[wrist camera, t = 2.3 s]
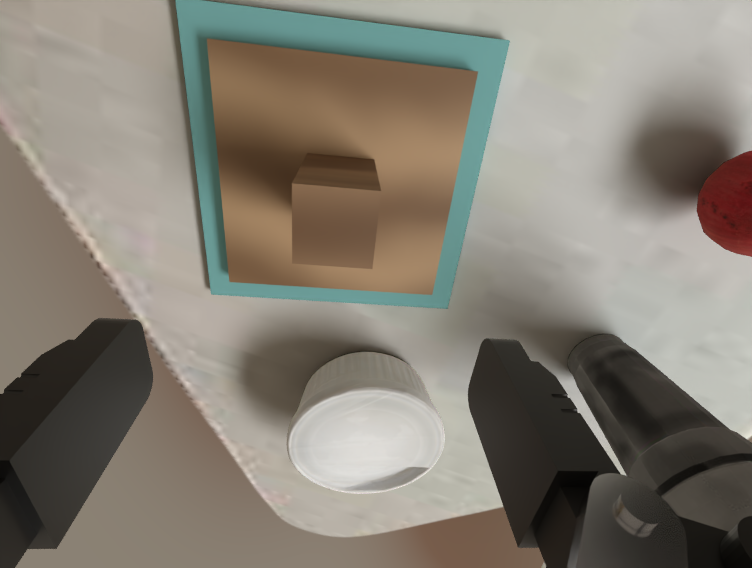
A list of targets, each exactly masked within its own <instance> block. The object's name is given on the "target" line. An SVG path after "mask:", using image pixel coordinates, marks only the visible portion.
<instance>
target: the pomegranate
mask: <svg viewBox="0 0 752 568" xmlns="http://www.w3.org/2000/svg"><path fill="white" fill-rule="evenodd" d="M697 213H698V217H699V220H700V223H701V226H702V229H703V232H704V233H705V234H706V235H707V236H708V237H710V238H711V239H712V240H713V241H714V242H716V243H717V244H719V245H720V246H721V247H723V248H724V249H726V250H729V251H731V252H734V253H737V254H741V255H746V256H751V257H752V151H748V152H745V153H742V154H740V155H738V156H736V157H734V158H732V159H730V160H728V161H726V162H724V163H723V164H722V165H721V166H720V167H719V168H718V169H717V170H716V171H714V172H713V173H712V174H711V175H710V176H709V177H708V178H707V179H706V181H705V183H704V185H703V187H702V189H701V191H700V192H699V195H698V203H697Z"/></svg>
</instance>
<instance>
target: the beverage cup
mask: <svg viewBox="0 0 752 568" xmlns="http://www.w3.org/2000/svg"><path fill="white" fill-rule="evenodd" d="M568 367H569V370H570V372H571V373H572V375H573V377H574V379H575V381H576V384H577V387H578V388H579V390H580V392H581V394H582V396H583V397H584V399H585V401H586V403H587V405H588V406H589V408H590V410H591V412H592V414H593V415H594V417H595V419H596V421H597V422H598V424H599V426H600V428H601V430H602V431H603V433H604V435H605V437H606V439H607V440H608V442H609V444H610V446H611V448H612V449H613V451H614V453H615V455H616V457H617V458H618V460H619V462H620V464H621V466H622V467H623V469H624V471H625V473H626V475H627V476H628V477H631V478H633V479H635V480H637V481H639V482H641V483H643V484H645V485H646V486H648V487H649V488H651V489H652V490H654V491H655V492H656V493H657V494H658V495H660V496H661V497H662V498H663V499H664V500H665V501H666V502H667V503H668V504H669V505H670V507H671V508H672V509H673V510H674V511H675V513H676V514H677V516H680V517H683V518H687V519H690V520H693V521H696V522H699V523H703V524H706V525H709V526H712V527H715V528H719V529H722V530H725V531H728V532H730V531H731V530H732V529H733V528H734V527H735V525H736V524H737V523H738V522H739V521H740V520H742V519H743V518H745V517H748V516H752V443H751V442H750V441H748V440H747V439H745V438H744V437H742V436H741V435H740V434H738V433H737V432H734V431H732V430H730V429H729V428H727V427H726V426H725V425H724V424H723V423H721V422H720V421H719V420H718V419H717V418H715V417H714V416H713V415H712V414H711V413H710V412H708V411H707V410H706V409H705V408H704V407H702V406H701V405H700V404H699V403H698V402H696V401H695V400H694V399H693V398H692V397H690V396H689V395H688V394H687V393H686V392H685V391H683V390H682V389H681V388H680V387H679V386H677V385H676V384H675V383H674V382H673V381H671V380H670V379H669V378H668V377H667V376H665V375H664V374H663V373H662V372H661V371H660V370H658V369H657V368H656V367H655V366H654V365H652V364H651V363H650V362H649V361H648V360H646V359H645V358H644V357H643V356H642V355H641V354H639V353H638V352H637V351H636V350H635V349H633V348H631V347H630V346H628V345H627V344H626V343H624V342H623V341H622V340H621V339H620V338H618V337H616V336H614V335H608V334H602V335H596V336H593V337H590V338H588V339H585V340H584V341H582V342H581V343H580V344H578V345H577V346H576V347H575V348H574V349H573V350H572V352H571V354H570V356H569V358H568Z"/></svg>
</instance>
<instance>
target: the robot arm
mask: <svg viewBox="0 0 752 568" xmlns="http://www.w3.org/2000/svg"><path fill="white" fill-rule="evenodd" d="M152 382H153V372H152V367H151V362H150V358H149V354H148V349H147V345H146V340H145V336H144V331H143V327H142V325H141V323H140V322H139V321H138V320H130V319H110V318H98V319H96V320H94V321H93V322H92V323H91V324H90V325H89V326H88V327H87V328H86V329H85V330H84V331H83V332H82V333H81V334H80V335H79V336H78V337H77V338H76V339H75V340H67V341H65V342H63V343H62V344H60V345H58V346H56V347H55V348H53V349H51V350H49V351H47V352H46V353H44V354H42V355H41V356H40V357H39V358H37V359H36V361H34V362H33V363H32V364H31V365H30V366H29V367H28V368H27V369H26V370H25V371H24V372H23V373H22V374H21V377H20V378H19V377H18V378H16V379H15V380H14V381H13V382H12V383H11V384H10V385H9V386H7V387H6V388H5V389H4V393H3V394H0V568H15V567H16V565H17V564H18V562H19V561H20V559H21V558H22V556H23V555H24V553H25V552H26V550H27V549H57V547H58V545H59V544H60V542H61V541H62V539H63V537H64V536H65V534H66V532H67V531H68V529H69V527H70V526H71V524H72V522H73V521H74V519H75V518H76V516H77V514H78V512H79V511H80V509H81V508H82V506H83V504H84V503H85V501H86V499H87V498H88V496H89V495H90V493H91V491H92V490H93V488H94V486H95V485H96V483H97V481H98V480H99V478H100V476H101V475H102V473H103V472H104V470H105V468H106V467H107V465H108V463H109V462H110V460H111V458H112V457H113V455H114V453H115V452H116V450H117V449H118V447H119V445H120V443H121V442H122V440H123V439H124V437H125V435H126V434H127V432H128V430H129V429H130V427H131V425H132V424H133V422H134V420H135V419H136V417H137V416H138V414H139V412H140V411H141V409H142V407H143V406H144V404H145V402H146V401H147V399H148V397H149V395H150V391H151V388H152ZM567 395H568V394H567V393H566V391H565V390H564V388H563V387H562V385H561V384H560V382H559V381H558V379H557V378H556V377H555V376H554V375H553V374H552V373H551V372H549V371H548V370H547V369H546V368H545V367H544V366H542V365H541V364H540V363H539V362H534V361H531V360H530V359H529V357H528V356H527V354H526V352H525V351H524V349H523V347H522V346H521V344H520V343H519V342H518V341H517V340H507V339H487V338H486V339H484V340H483V342H482V344H481V346H480V350H479V353H478V356H477V360H476V363H475V367H474V370H473V373H472V377H471V380H470V384H469V389H468V402H469V408H470V412H471V415H472V417H473V420H474V423H475V426H476V429H477V432H478V435H479V437H480V440H481V443H482V446H483V449H484V452H485V454H486V457H487V460H488V463H489V466H490V469H491V472H492V474H493V477H494V480H495V483H496V486H497V489H498V492H499V494H500V497H501V500H502V503H503V506H504V509H505V511H506V514H507V517H508V520H509V523H510V526H511V529H512V531H513V534H514V537H515V540H516V543H517V546H518V547H519V548H535V547H536V548H537V547H539V549H540V551H541V554H542V557H543V559H544V564H543V565H542V568H752V516H748V517H745V518H743V519H742V520H740V521H739V522H738V523H737V524H736V525H735V527H734V528H733V529H732V530H731V531H730V532H728V531H725V530H722V529H719V528H715V527H712V526H709V525H706V524H703V523H699V522H696V521H693V520H690V519H687V518H683V517H680V516H677V514H676V513H675V511H674V510H673V509H672V508H671V507H670V505H669V504H668V503H667V502H666V501H665V500H664V499H663V498H662V497H661V496H660V495H658V494H657V493H656V492H655V491H654V490H652V489H651V488H649V487H648V486H646V485H645V484H643V483H641V482H639V481H637V480H635V479H633V478H631V477H628V476H625V475H621V474H620V472H619V471H618V470H617V468H616V467H615V465H614V464H613V462H612V461H611V459H610V458H609V456H608V455H607V453H606V451H605V450H604V448H603V447H602V445H601V444H600V442H599V441H598V439H597V438H596V436H595V435H594V433H593V432H592V430H591V429H590V427H589V426H588V424H587V423H586V421H585V420H584V418H583V417H582V415H581V414H580V413H578V412H577V408H576V406H575V405H574V403H573V402H572V400H571V399H570V398H568V397H567Z"/></svg>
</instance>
